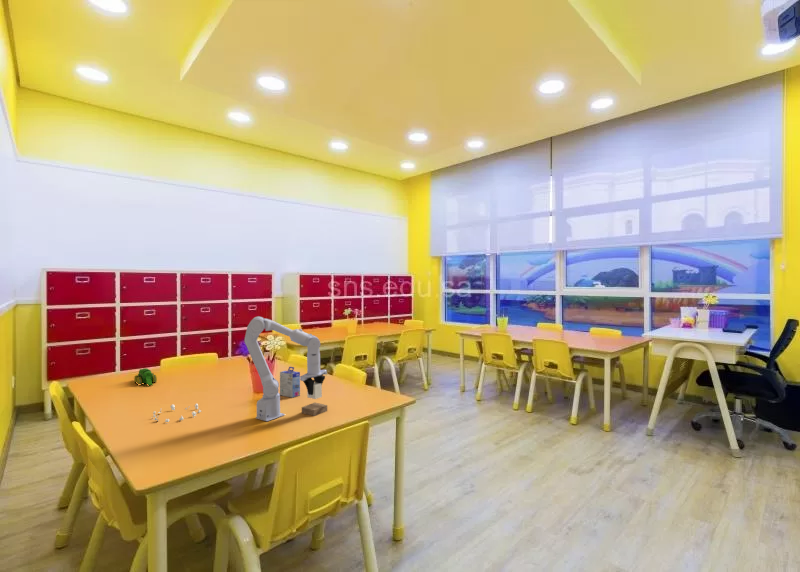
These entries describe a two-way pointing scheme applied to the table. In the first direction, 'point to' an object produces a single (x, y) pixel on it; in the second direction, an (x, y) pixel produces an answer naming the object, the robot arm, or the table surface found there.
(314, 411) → the walnut base
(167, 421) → the game piece set
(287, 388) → the ink cartridge box
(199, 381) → the table surface
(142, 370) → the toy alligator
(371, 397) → the table surface
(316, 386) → the offwhite block
